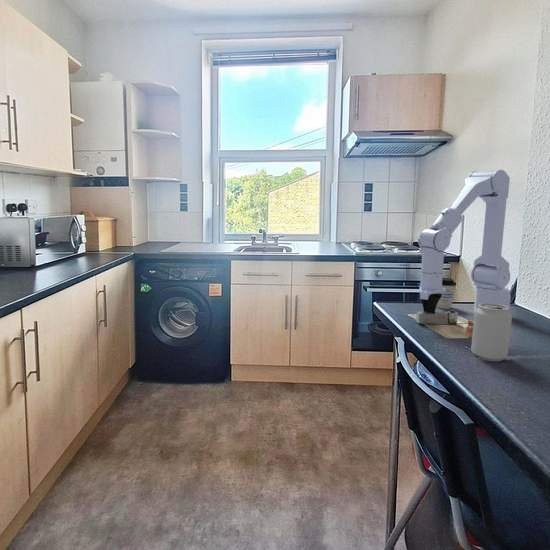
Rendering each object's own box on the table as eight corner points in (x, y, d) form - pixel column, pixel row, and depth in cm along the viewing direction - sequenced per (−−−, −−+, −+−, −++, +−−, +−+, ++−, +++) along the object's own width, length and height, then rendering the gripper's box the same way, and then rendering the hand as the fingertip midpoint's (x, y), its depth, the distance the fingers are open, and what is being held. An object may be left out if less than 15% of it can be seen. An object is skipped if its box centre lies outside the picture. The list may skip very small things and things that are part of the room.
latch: (454, 321, 123) (455, 310, 122) (458, 324, 120) (459, 313, 119) (415, 320, 123) (416, 310, 123) (418, 323, 120) (419, 312, 120)
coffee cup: (432, 305, 146) (434, 276, 144) (454, 308, 143) (457, 278, 141) (430, 310, 140) (432, 279, 138) (453, 313, 137) (456, 281, 135)
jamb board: (453, 315, 133) (454, 300, 132) (501, 339, 111) (503, 321, 110) (406, 316, 131) (408, 301, 130) (446, 341, 109) (448, 323, 108)
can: (511, 364, 94) (518, 310, 92) (475, 361, 96) (480, 308, 94) (501, 352, 102) (506, 302, 99) (467, 349, 103) (472, 300, 101)
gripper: (440, 277, 113) (437, 327, 116) (452, 269, 125) (448, 315, 128) (413, 275, 117) (410, 323, 119) (427, 267, 129) (424, 311, 131)
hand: (428, 319), depth 124 cm, fingers closed, pressing on latch
